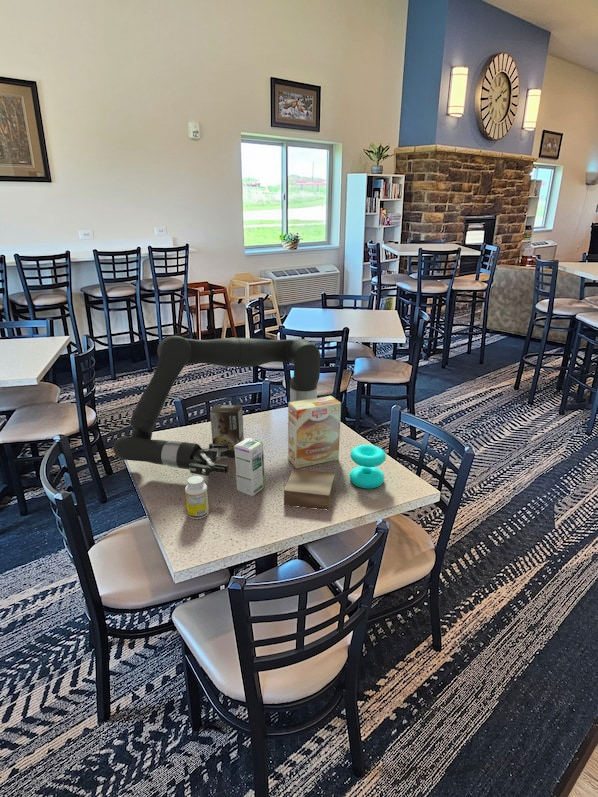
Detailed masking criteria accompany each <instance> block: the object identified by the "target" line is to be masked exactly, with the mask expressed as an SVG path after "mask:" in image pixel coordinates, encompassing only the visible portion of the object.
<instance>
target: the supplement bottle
mask: <svg viewBox="0 0 598 797" xmlns="http://www.w3.org/2000/svg"><path fill="white" fill-rule="evenodd" d="M186 480H187V483H186V484H187V485H186V486H185V488H184V492H185V493H184V494H185V502H186V503H185V504H186V511H187V512H186V514H187V516H188V517H189V518H190V519H193V520H201V519H203V518H206V517H207V516H208V515H209V513H210V509H209V508H210V506H209V495H208V493H209V492H208V485H207V484H206V483H205V480H204V478H203V477H202V476H201V475H194V476H190V477H188V479H186Z"/></svg>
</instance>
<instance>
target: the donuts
mask: <svg viewBox="0 0 598 797" xmlns="http://www.w3.org/2000/svg"><path fill="white" fill-rule="evenodd" d="M386 458H387V453H386V452H385V450H384V449H382V448H381V447H379V446H377V445H373V444H359V445H357V446H355V447H353V448H352V450H351V451H350V459H351V460H352V461H353V462H354V463H355V464H356V465H358V466H355V467H353V469H352V470H351V471H350V473H349V480H350V482H351V483H352V484H353V485H355V486H356V487H358V488H362V489H368V490H369V489H375V488H378V487H380V486H382V485H383V483H384V481H385V474H384V472H383V471H382V470H381V469H380V468H378V466H381V465H382V464H383V463H384V462H385V461H386Z"/></svg>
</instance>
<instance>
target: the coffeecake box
mask: <svg viewBox="0 0 598 797" xmlns="http://www.w3.org/2000/svg"><path fill="white" fill-rule="evenodd" d="M287 403H288V404H287V409H288V410H287V412H288V414H287V415H288V416H287V419H288V420H287V421H288V422H287V460H288V461H289V462H290V463H291V464H292V466H293V467H294V468H295V469H301V468H305V467H309V466H313V465H317V464H322V463H327V462H328V463H329V462H331V461H332V462H333V461H337V460H339V459H340V456H339V455H340V436H341V435H340V433H341V415H342V414H341V412H342V402H341V401H339V400H338V399H336V398H335V397H334V396H332V395H328V396H320V397H317V398H313V399H307V400H300V401H294V402H290V401H289V402H287Z"/></svg>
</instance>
